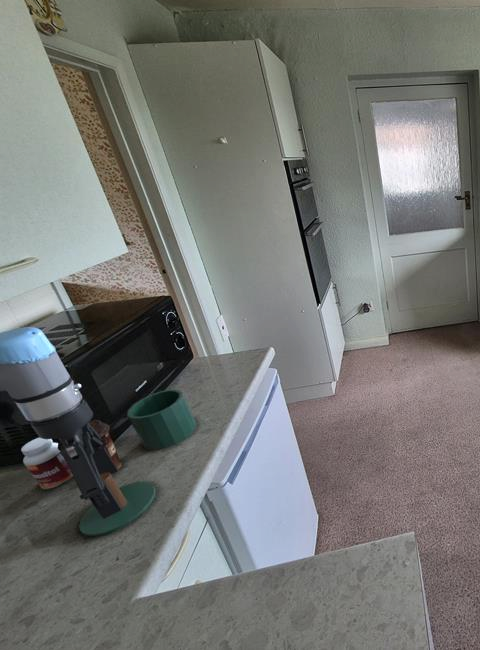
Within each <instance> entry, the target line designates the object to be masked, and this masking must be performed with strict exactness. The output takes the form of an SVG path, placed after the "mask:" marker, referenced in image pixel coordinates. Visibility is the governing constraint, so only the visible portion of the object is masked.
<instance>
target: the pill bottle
mask: <svg viewBox="0 0 480 650" xmlns="http://www.w3.org/2000/svg"><path fill="white" fill-rule="evenodd" d="M58 443H59V442H54V441H53V439H42V438H40V437H37V438H35V439H32V440H31V441H28V442H27V443H25V444H24V445H23V446H22V447H21V449H20V451H21V453H22V454H23V455H24V457H23V459H22V462H23V464H24V466H25V467H26V469H27V470H28V471H29V473H30V474H31V476H32V478H33V479H34V480H35V481H36V483H37V484H38V485H39V487H40V488H41V489H42V490H49V489H53V488H55V487H58V486H60V485H61V484H64V483H66V482H67V481H69V480H70V479H71V478H72V477H73V475H72V473H71V471H70V469H69V466H68V464H67V462H66V461H65V459H64V458H63V456H62V455H61V454H60V451H59V450H58Z"/></svg>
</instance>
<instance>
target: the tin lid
mask: <svg viewBox="0 0 480 650" xmlns="http://www.w3.org/2000/svg"><path fill="white" fill-rule="evenodd" d="M100 477H101V479H102V482H103V484H106V485H107V486H108V488H109V489H110V491H111V493H112V494H113V496H114V497H115V499H116V500H117V502H118V503H119V505H120V506H121V511H119V512H117V513H115V514H113V515H111V516H109V517H107V518H105V519H103V518H102V516H101V515H100V513H99V512H98V510H97V509H96V508H95V506H94V505H93V504H92V505H91V506H90V507H89V508H88V509H87V510H86V512H85V513H84V514H83V516H82V517H81V519H80V521H79V525H78V528H79V529H78V530H79V531H80V532H81V534H82V535H84V536H86V537H99V536H100V537H101V536H104V535H108V534H110V533H113V532H115V531H118V530H119V529H122V528H123V527H125V526H127V525H128V524H130V523H132V522H133V521H134V520H136V519H137V518H138V517H139V516H141V515H142V514H143V513H144V512H145V511H146V510H147V509H148V508H149V506H150V505H151V504H152V502H153V501H154V499H155V496H156V488H155V486H154V485H153V483H151V482H148V481H137V482H132V483H129V484H125V485H123V486H120V487H119V485H118V483H117V482H116V480H115V479H114V478H113V475H111V474H110V473H108V472H107V473H103V474H100Z"/></svg>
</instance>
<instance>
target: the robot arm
mask: <svg viewBox="0 0 480 650" xmlns="http://www.w3.org/2000/svg"><path fill="white" fill-rule="evenodd" d="M56 349H57V348H56V347H55V346H54V344H52V343H51V342H50V341H49V339H48V338H47V335H46V334H45V333H44V332H43V331H42V329H40V328H37V327H33V326H25V327H19V328H14V329H11V330H8V331H2V332H0V393H2V392H7V393H8V395H9V396H10V398H11V399H12V400H13V402H14V404H16V406H17V408H18V409H19V411H20V412H21V414H22V416H23V417H24V418H25V420H26V421H29V424H30V426H31V427H32V429H33V430H34V431H35V433H36V435H37V436H38V438H42V439H52V440H53V439H55V440H56V439H58V440H59V439H61V441H62V442H60V443H59V442H58V443H59V445H60V448H61V450H60V454H61V455H62V456H63V458H64V459H65V461H66V462H67V464H68V466H69V469H70V471H71V473H72V475H73V476H72V477H73V479H74V481H75V483H76V485H77V488H78V489H79V491H80V493H81V494H80V495H79V499H80V500H84V501H87V500H88V499H89V501H90V502H91V503H92V505H94V506H95V508H96V509H97V510H98V512H99V513H100V515H101V516H102V518H103V519H105V518H107V517H109V516H111V515H113V514H115V513H117V512H119V511H121V506H120V505H119V503H118V502H117V500H116V499H115V497H114V496H113V494H112V493H111V491H110V489H109V488H108V486H107V485H106V484H103V482H102V479H101V477H100V474H103V473H107V472H108V473H110V474H113V473H114V474H115V473H117V472H119V470H118V469H117V467H116V466H115V464H114V462H113V461H112V459H111V457H110V456H109V454H108V453H107V451H106V449H105V448H104V447H103V448H101V447H102V446H104V445H107V441H106V440H102V441H100V440H101V436H100V435H99V434H98V433H97V432H96V431H95V430H94V429H93V427H92V426H91V425H90V424H89V423H88V422H89V421H92V419H93V417H94V413H93V411H92V409H91V407H90V405H89V404H88V402H87V401H86V400H85V399H84V398H83V395H82V393H81V391H80V389H81V388H82V384H80V383H76V384H75V382H74V380H73V379H72V377H71V375H70V373H69V372H68V371H67V368H66V367H65V365H64V363H63V362H62V360H61V358H60V356H59V355H58V352H57V350H56ZM85 451H86V452H85ZM114 474H113V475H114Z"/></svg>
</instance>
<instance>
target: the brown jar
mask: <svg viewBox="0 0 480 650" xmlns="http://www.w3.org/2000/svg"><path fill="white" fill-rule="evenodd" d="M88 423H89V424H90V425H91V426H92V427H93V429H94V430H95V431H96V432H97V433H98V434H99V435H100V436H101V440H100V441H102V440H106V441H107V445H104V446H102V447H101V448H103V447H104V448H105V449H106V451H107V453H108V454H109V456H110V457H111V459H112V461H113V462H114V464H115V466H116V467H117V469H118V471H119V470H120V468H121V467H122V462H121V461H120V458H119V455H118V451H117V449H116V447H115V443H114V440H113V438H112V437H111V435H110V434H111V433H110V425H109V424H108V423H105V422H102V421H101V420H99V419H93V420H92V419H91V420H90V421H89V422H88ZM60 442H62V441H61V439H58V442H57V443H58V450H59V451H60V450H61V448H60V445H59V443H60ZM85 452H86V451H85ZM113 475H115V473H113V474H111V476H113Z"/></svg>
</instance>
